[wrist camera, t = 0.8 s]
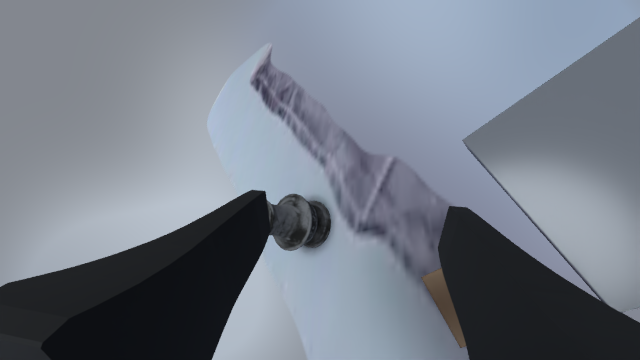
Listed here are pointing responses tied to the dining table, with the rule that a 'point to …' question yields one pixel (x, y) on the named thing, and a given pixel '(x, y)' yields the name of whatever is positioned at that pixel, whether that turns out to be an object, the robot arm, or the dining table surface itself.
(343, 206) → the dining table surface
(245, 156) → the dining table surface
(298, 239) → the salt shaker
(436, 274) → the walnut block
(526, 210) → the slate coaster
